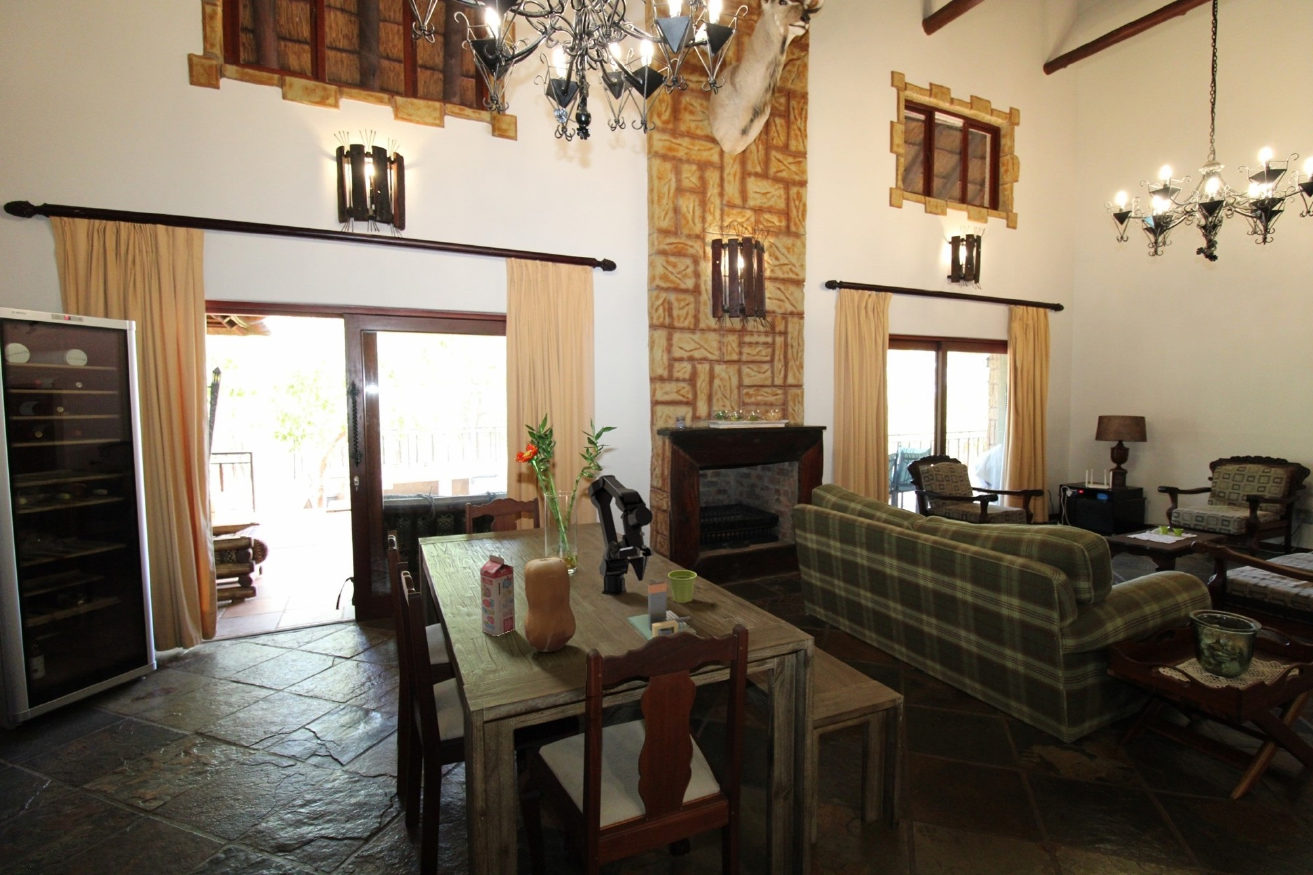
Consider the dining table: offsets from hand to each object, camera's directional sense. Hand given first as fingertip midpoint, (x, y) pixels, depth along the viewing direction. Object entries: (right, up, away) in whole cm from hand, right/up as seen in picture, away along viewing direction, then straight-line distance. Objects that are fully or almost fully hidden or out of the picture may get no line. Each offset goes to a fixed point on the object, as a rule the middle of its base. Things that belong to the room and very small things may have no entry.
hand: (640, 580), depth 188 cm
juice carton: (-41, -12, -12) cm, 44 cm away
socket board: (+6, -11, -10) cm, 16 cm away
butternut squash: (-24, -13, -25) cm, 37 cm away
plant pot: (+13, -9, +12) cm, 20 cm away
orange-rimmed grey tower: (+10, -10, -14) cm, 20 cm away
